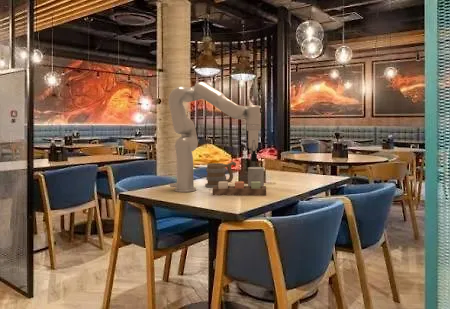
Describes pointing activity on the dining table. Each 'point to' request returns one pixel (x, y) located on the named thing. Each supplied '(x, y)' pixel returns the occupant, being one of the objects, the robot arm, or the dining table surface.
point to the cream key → (223, 184)
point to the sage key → (255, 184)
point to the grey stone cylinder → (256, 175)
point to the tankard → (218, 173)
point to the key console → (239, 191)
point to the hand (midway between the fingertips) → (254, 161)
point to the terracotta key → (239, 184)
